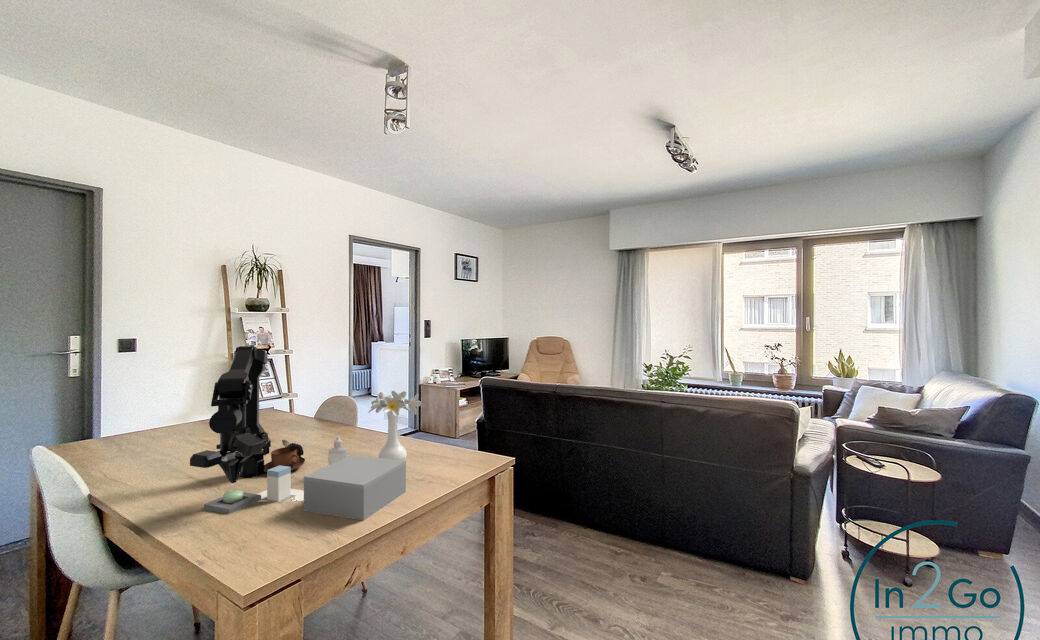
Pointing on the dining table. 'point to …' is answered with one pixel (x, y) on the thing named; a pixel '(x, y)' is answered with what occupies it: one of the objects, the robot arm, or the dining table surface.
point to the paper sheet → (294, 493)
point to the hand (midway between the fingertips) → (233, 482)
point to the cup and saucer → (284, 459)
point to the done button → (233, 496)
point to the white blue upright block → (278, 483)
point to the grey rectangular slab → (354, 486)
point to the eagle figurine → (293, 446)
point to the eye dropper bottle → (337, 452)
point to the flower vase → (394, 421)
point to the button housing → (226, 508)
